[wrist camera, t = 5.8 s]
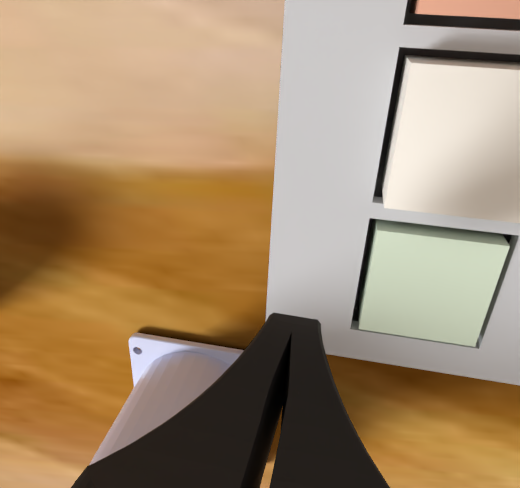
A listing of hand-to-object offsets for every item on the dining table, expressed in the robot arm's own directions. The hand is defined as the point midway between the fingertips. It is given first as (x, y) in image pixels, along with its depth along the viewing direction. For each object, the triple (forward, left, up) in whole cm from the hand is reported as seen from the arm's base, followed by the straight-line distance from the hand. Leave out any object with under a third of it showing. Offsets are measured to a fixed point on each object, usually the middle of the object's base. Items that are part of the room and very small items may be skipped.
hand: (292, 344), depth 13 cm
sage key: (-1, -5, -7) cm, 9 cm away
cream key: (+5, -4, -6) cm, 9 cm away
